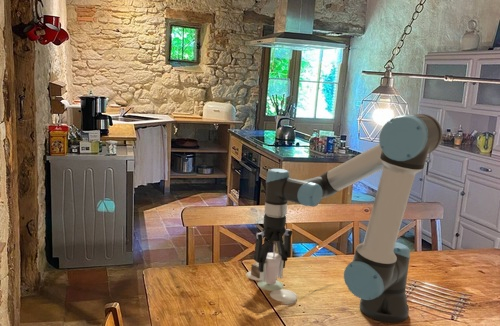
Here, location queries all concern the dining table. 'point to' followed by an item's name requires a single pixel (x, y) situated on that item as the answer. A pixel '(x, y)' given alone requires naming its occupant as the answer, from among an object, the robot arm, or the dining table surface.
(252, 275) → the saucer far
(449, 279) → the dining table surface
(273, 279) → the smoothie
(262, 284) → the saucer mid
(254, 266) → the letter cube
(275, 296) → the saucer near
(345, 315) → the dining table surface
